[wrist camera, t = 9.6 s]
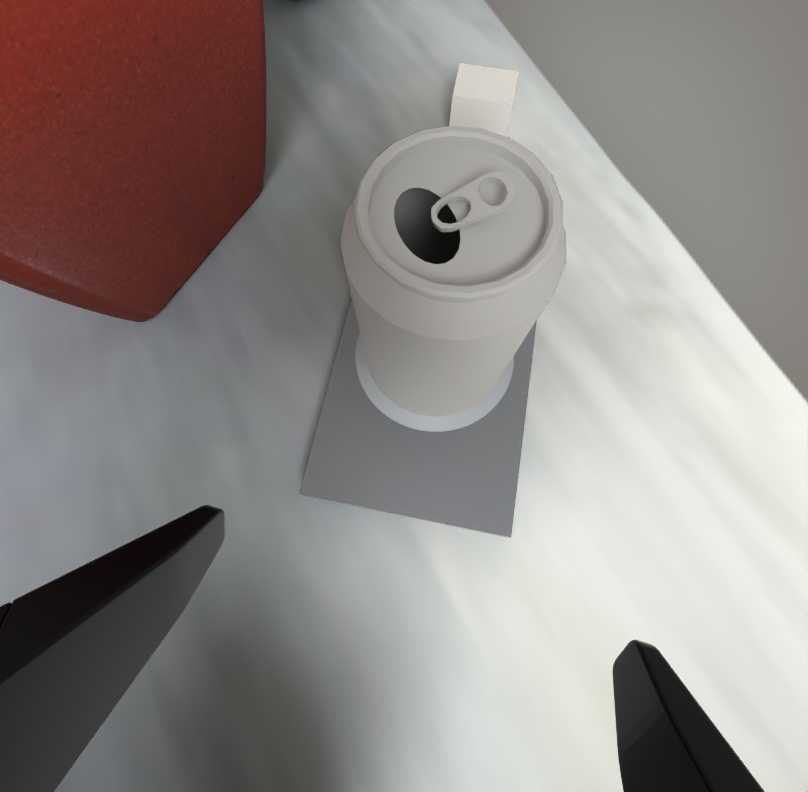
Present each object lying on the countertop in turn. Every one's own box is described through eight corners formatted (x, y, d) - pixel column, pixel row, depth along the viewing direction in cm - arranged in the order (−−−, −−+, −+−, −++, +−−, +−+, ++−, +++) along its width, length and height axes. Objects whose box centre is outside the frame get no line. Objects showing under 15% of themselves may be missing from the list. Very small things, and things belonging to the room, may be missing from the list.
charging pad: (505, 536, 22) (520, 538, 19) (304, 495, 23) (290, 490, 20) (555, 120, 31) (571, 78, 28) (408, 99, 31) (408, 56, 28)
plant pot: (126, 72, 32) (-153, -379, 16) (334, 170, 29) (247, -259, 13) (-69, 256, 27) (-744, -126, 11) (157, 394, 25) (-315, 148, 8)
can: (349, 322, 24) (299, 142, 13) (467, 282, 25) (520, 77, 14) (394, 441, 22) (383, 351, 11) (521, 393, 23) (637, 262, 12)
